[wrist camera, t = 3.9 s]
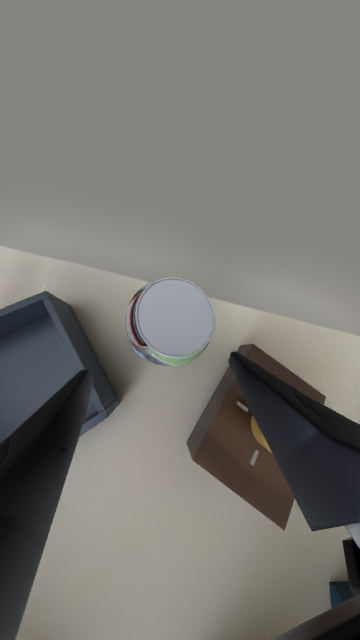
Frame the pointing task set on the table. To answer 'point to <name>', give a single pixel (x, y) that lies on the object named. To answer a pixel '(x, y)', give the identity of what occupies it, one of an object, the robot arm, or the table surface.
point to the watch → (340, 593)
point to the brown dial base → (245, 442)
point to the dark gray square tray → (46, 361)
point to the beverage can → (170, 321)
